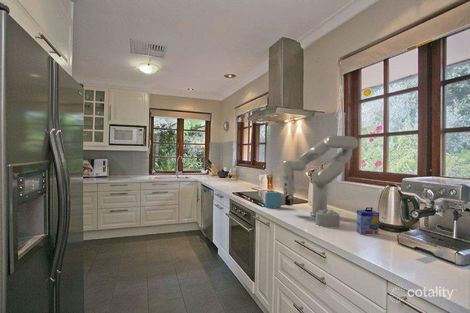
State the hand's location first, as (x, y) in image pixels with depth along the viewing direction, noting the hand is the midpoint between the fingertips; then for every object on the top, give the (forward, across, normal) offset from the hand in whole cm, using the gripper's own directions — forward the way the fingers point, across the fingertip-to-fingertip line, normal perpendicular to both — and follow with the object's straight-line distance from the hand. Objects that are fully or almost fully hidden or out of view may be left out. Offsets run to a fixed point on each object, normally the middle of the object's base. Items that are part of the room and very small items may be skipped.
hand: (289, 203), depth 167 cm
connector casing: (+1, 0, 0) cm, 1 cm away
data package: (+7, +11, +20) cm, 24 cm away
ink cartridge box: (+9, -9, -50) cm, 52 cm away
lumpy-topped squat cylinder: (+8, -8, -28) cm, 30 cm away
